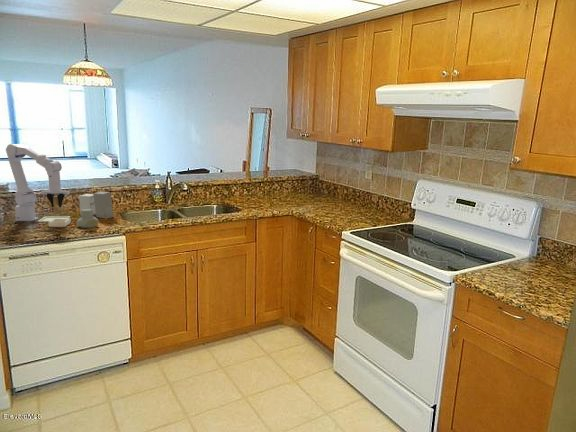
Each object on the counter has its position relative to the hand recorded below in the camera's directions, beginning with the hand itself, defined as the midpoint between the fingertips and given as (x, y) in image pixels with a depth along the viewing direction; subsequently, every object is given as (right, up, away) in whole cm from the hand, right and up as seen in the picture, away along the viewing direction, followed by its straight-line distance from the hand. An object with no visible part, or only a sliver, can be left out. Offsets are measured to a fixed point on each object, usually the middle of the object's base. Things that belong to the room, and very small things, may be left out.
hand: (56, 206), depth 241 cm
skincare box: (+19, -6, +19) cm, 28 cm away
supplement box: (+7, -5, +25) cm, 26 cm away
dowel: (0, -3, +1) cm, 3 cm away
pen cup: (+3, -11, -2) cm, 11 cm away
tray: (-6, -8, +8) cm, 13 cm away
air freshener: (+19, -12, -3) cm, 23 cm away
